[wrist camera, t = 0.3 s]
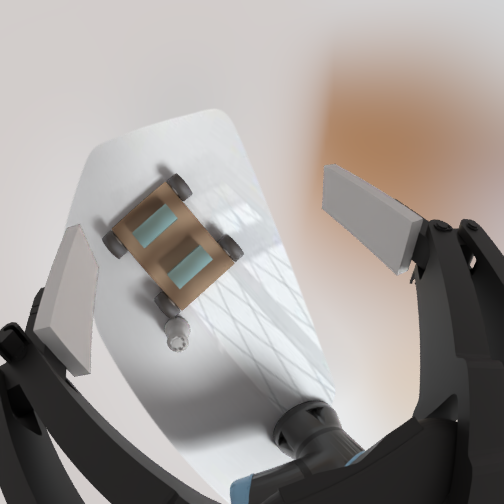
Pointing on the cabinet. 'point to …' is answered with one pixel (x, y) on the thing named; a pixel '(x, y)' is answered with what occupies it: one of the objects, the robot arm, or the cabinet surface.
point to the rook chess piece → (177, 334)
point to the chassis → (172, 246)
